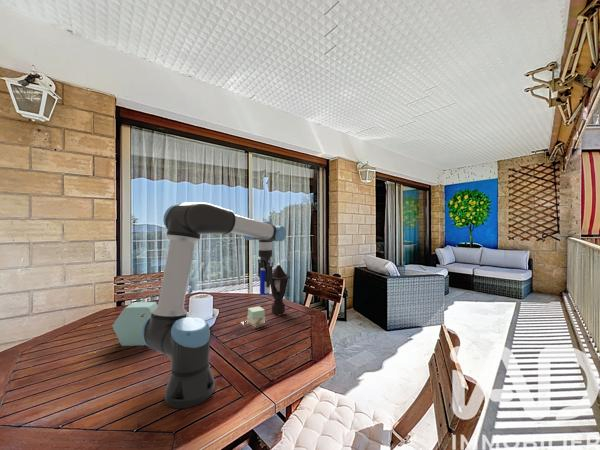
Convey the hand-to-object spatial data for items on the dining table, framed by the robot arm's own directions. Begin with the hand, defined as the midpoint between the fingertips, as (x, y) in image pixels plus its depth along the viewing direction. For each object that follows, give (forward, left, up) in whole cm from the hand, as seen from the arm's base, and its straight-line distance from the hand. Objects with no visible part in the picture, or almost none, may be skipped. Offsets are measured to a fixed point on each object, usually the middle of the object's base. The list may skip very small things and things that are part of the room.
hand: (264, 291), depth 140 cm
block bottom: (-3, +4, -18) cm, 19 cm away
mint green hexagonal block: (-57, +17, -19) cm, 62 cm away
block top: (-3, +4, -14) cm, 15 cm away
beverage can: (0, 0, -2) cm, 2 cm away
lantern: (+16, +11, -19) cm, 27 cm away
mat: (-3, +4, -19) cm, 19 cm away
